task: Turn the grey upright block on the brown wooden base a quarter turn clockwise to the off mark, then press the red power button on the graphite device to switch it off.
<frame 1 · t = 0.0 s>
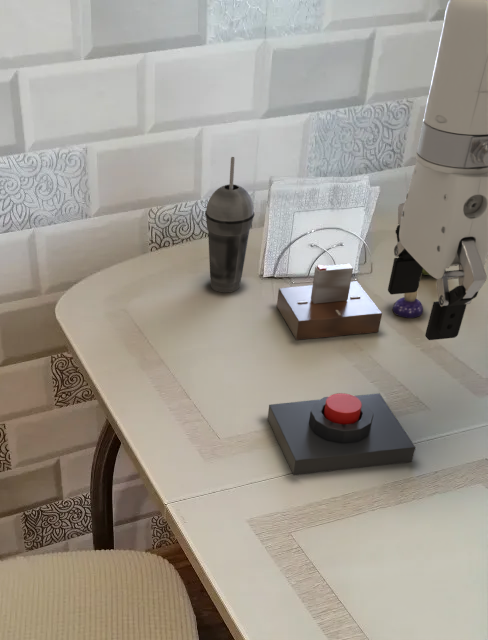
hand: (420, 313, 83), 17 cm above the table, tool pointing down, fingers open, 9 cm apart
brown wooden base: (326, 318, 116), on the table
grey upright block: (331, 283, 113), point 6 cm above the table, hinge at 0.0°
toy lamp: (404, 312, 117), on the table
device: (336, 439, 95), on the table
pear: (425, 274, 126), on the table
power button: (342, 409, 92), point 4 cm above the table, slide at 0.1 cm
beverage cup: (225, 286, 125), on the table
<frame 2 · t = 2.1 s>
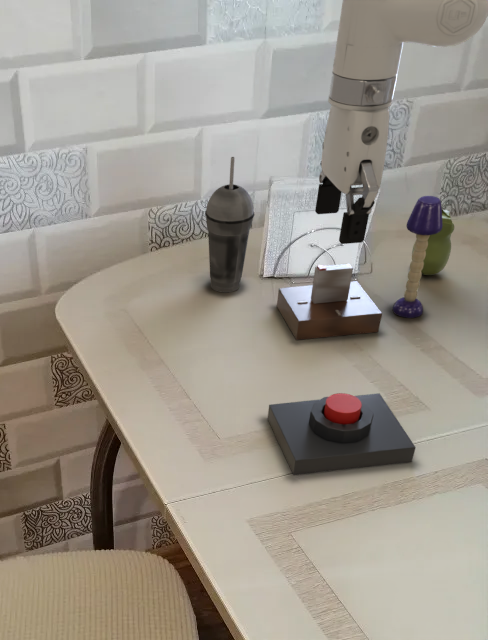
hand: (338, 227, 107), 14 cm above the table, tool pointing down, fingers open, 9 cm apart
nothing on the table moved.
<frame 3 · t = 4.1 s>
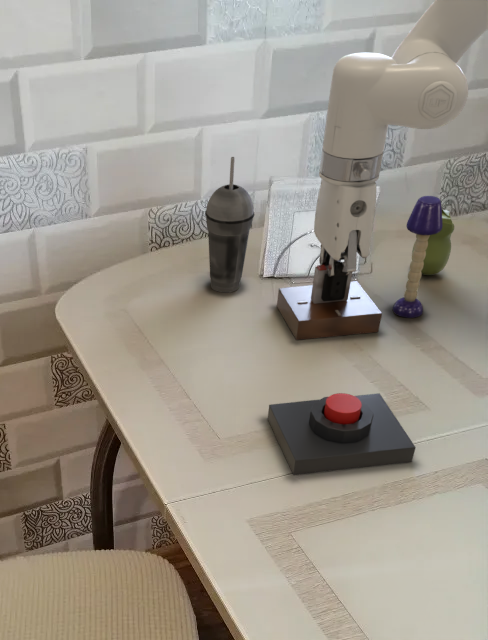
hand: (329, 294, 114), 4 cm above the table, tool pointing down, fingers closed on grey upright block
grey upright block: (331, 283, 113), point 6 cm above the table, hinge at 0.0°, touching gripper
everything else where it was.
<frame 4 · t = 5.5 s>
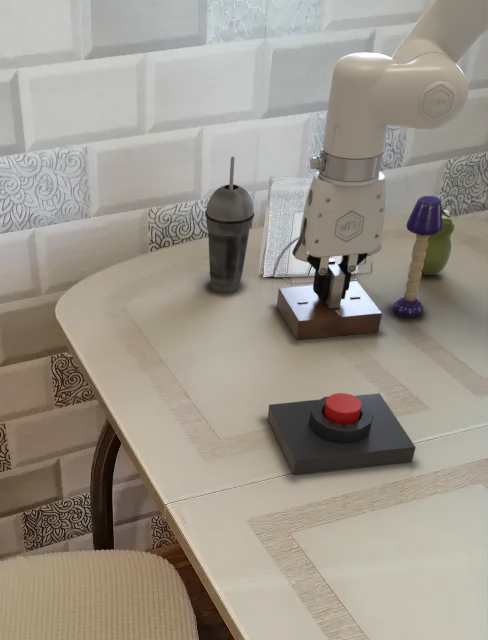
hand: (329, 294, 114), 4 cm above the table, tool pointing down, fingers closed
grey upright block: (331, 283, 113), point 6 cm above the table, hinge at -90.0°
everything else where it was.
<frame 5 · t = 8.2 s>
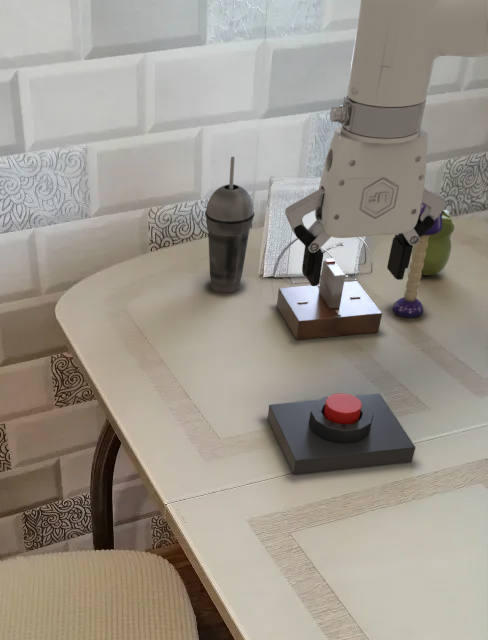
hand: (353, 277, 90), 17 cm above the table, tool pointing down, fingers open, 9 cm apart
nothing on the table moved.
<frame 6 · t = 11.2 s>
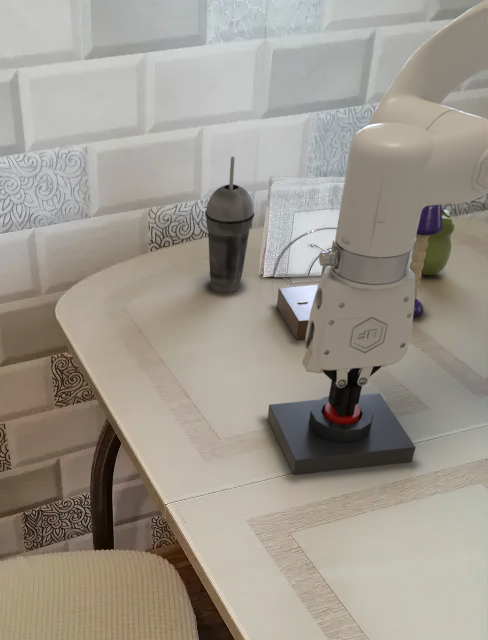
hand: (341, 409, 92), 5 cm above the table, tool pointing down, fingers closed
power button: (341, 415, 93), point 4 cm above the table, slide at -0.8 cm, touching gripper
everything else where it was.
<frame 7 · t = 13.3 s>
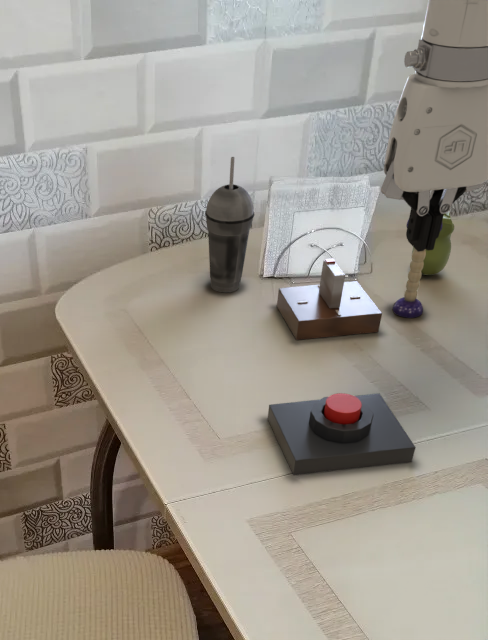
hand: (420, 245, 87), 21 cm above the table, tool pointing down, fingers closed
power button: (342, 409, 92), point 4 cm above the table, slide at 0.1 cm
everything else where it was.
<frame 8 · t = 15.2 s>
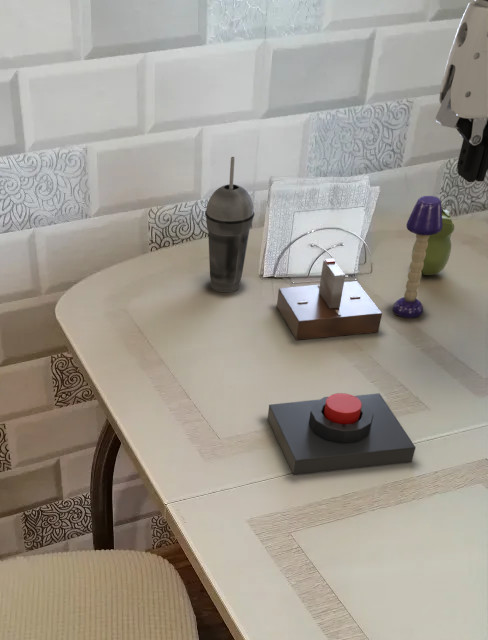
hand: (470, 177, 89), 25 cm above the table, tool pointing down, fingers closed
nothing on the table moved.
at the end: grey upright block at -90° (first picture: +0°); power button pushed in 1.1 cm at the most during the clip, back to where it started at the end; power button slide at 0.1 cm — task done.
